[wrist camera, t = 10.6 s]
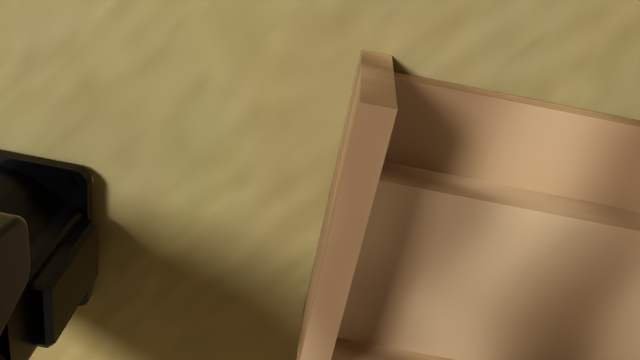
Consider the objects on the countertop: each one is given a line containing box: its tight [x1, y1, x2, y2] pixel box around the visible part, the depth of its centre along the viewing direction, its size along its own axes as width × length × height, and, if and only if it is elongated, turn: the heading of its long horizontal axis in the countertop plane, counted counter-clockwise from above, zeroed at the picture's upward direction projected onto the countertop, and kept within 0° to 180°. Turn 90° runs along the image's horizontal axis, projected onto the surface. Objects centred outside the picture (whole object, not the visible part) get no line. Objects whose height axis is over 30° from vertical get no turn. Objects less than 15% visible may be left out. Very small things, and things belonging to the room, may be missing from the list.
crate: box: [296, 50, 640, 360], centre depth 21 cm, size 18×12×4 cm, turn 80°
